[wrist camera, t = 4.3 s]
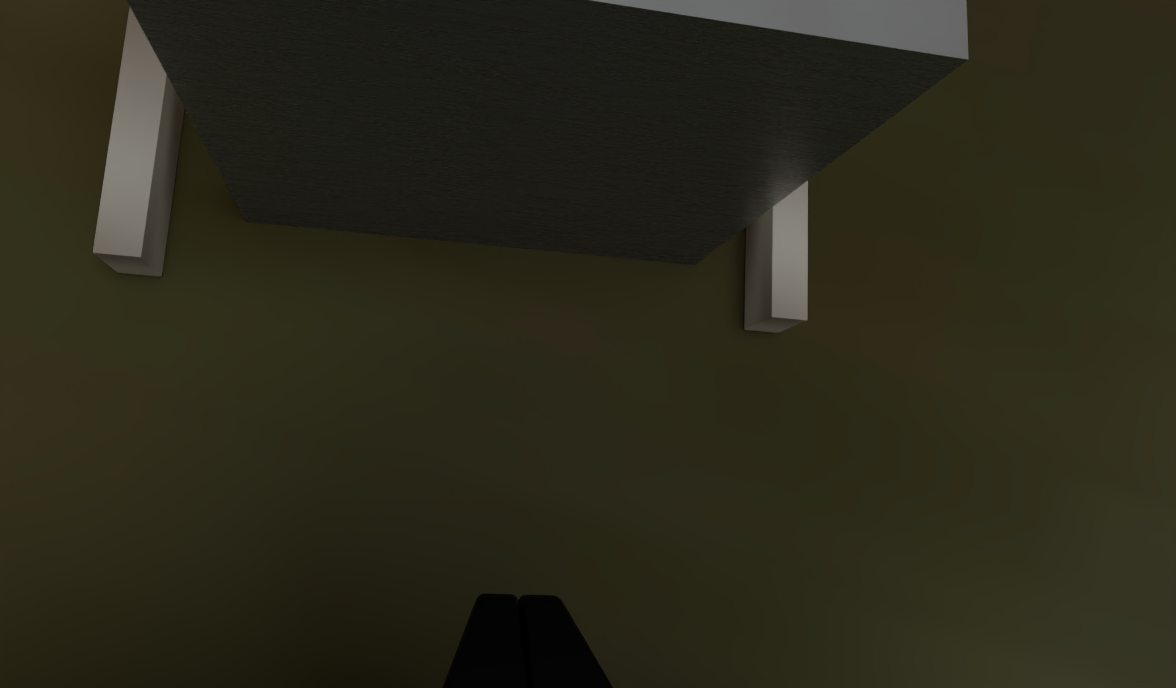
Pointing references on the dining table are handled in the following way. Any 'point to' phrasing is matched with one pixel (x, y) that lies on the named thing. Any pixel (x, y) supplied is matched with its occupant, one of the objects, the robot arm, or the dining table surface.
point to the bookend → (542, 110)
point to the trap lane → (150, 162)
